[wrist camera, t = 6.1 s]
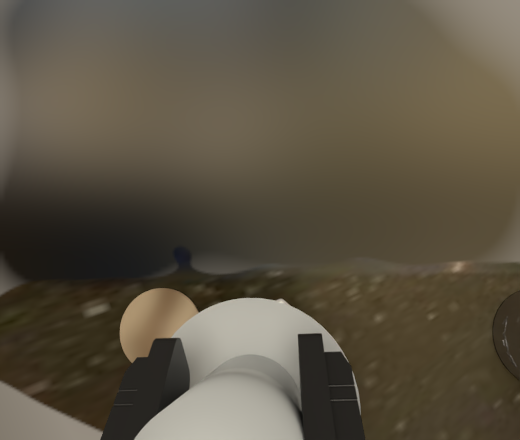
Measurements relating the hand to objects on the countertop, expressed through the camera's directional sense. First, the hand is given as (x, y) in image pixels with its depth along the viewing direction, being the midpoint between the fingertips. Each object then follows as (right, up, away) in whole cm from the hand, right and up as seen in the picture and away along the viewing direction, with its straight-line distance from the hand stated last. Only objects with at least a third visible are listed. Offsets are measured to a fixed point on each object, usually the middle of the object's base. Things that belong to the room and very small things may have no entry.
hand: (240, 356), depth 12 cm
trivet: (-9, -7, +27) cm, 29 cm away
